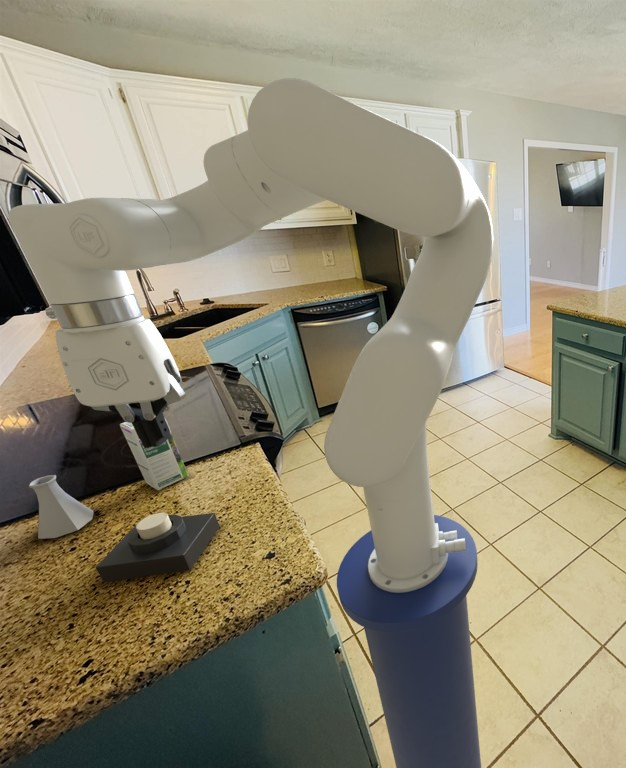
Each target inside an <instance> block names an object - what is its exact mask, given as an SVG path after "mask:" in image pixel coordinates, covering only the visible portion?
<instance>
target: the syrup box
mask: <svg viewBox="0 0 626 768" xmlns="http://www.w3.org/2000/svg"><path fill="white" fill-rule="evenodd" d="M165 420H166V422H167V425H168V427H169V429H170V426H169V424H168V421H167V419H166V418H165ZM119 427H120V429H121V432H122V433H123V436H124V437H125V440H126V442H127V444H128V446H129V448H130V451H131V453H132V455H133V457H134V460H135V462H136V464H137V467H138V468H139V470H140V472H141V475H142V477H143V479H144V482H145V483H146V484H147V485H149V486H150V487H151V488H153V489H155V490H156V491H158V492H159V491H162V489H164V488H166V487H169V486H171V485H173V484H175V483H177V482H180V481H182V480H185V479H187V478H188V477H189V472H188V471H187V468H186V465H185V464H184V463H185V462H184V461H183V458H182V456H181V453H180V451H179V448H178V446H177V443H176V441H175V439H174V435H173V434H172V431H171V429H170V438H168V439H167V440H166V441H165V442H164V443H162V444H161V445H160V446H158V447H153V446H151V447H150V448H144V446H143V444H142V442H141V440H140V439H139V437H138V435H137V433H136V431H135V429H134V427H133V424H132V423H128V422H126V421H124V422H122V423H120V424H119Z"/></svg>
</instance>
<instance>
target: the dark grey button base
mask: <svg viewBox="0 0 626 768" xmlns="http://www.w3.org/2000/svg"><path fill="white" fill-rule="evenodd" d="M167 515H168V517H169V519H170V521H171V523H172V527H171V528H170V530H168V531H167V532H165V533H163V534H162V535H160V536H157V537H154V538H152V539H146V540H144V539H141V537H140V535H139V533H138V531H137V529H136V525H137V524H138V523H139V522H140V521H138V522H137V523H136V524H135V525H134V526H133V527H132V528H131V529H130V531H128V533H127V534H126V535H125V536H124V537H123V538H121V540H120V541H119V542H118V543H117V544H116V545H115V546H114V547H113V548H112V549H111V550H110V551H109V552H108V554H106V555H105V556H104V558H103V559H102V560H101V561H100V562H99V563H98V564H97V565H96V566H95V570H96V571H97V573H98V575H99V577H100V579H101V581H102V582H103V583H111V582H118V581H125V580H132V579H139V578H146V577H152V576H153V577H154V576H161V575H166V574H167V575H168V574H174V573H175V574H176V573H180V572H188V571H191V570H192V568H193V566H194V565H195V564H196V563H197V561H198V560H199V558H200V557H201V555H202V554H203V552H204V551H205V549H206V547H207V546H208V545H209V543H211V540H212V539H213V537H214V536H215V534H216V533H217V531H218V530H219V529H220V524H219V521H218V518H217V516H216V513H215V512H209V513H201V514H193V515H184V516H181V515H178V514H175V513H173V514H167Z"/></svg>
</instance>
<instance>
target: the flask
mask: <svg viewBox="0 0 626 768" xmlns="http://www.w3.org/2000/svg"><path fill="white" fill-rule="evenodd" d="M28 488H30V489H32V490H33V491H34V493H35V494H36V498H37V501H38V529H37V539H38V540H42V539H56V538H60V537H62V536H64V535H68V534H71V533H74V532H77V531H79V530H80V529H82V528H83V527H85V525H87V524H88V523H90V522H91V521H92V520H93V519H94V518H93V517H94V510H92V509H91V508H90V507H88V506H86V505H85V504H83V503H82V502H80V501H78V500H77V499H76V498H74V497H72V496H71V495H70V494H68V493H67V492H65V490H63V488H61V486H59V484H58V482H57V475H56V474H51V475H49V474H48V475H45V476H41V477H38V478H36V479H34V480H32V481H31V482H29V484H28Z"/></svg>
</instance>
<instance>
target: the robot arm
mask: <svg viewBox="0 0 626 768" xmlns="http://www.w3.org/2000/svg"><path fill="white" fill-rule="evenodd" d="M246 121H247V129H246V130H245V131H243V132H240V133H238V134H235V135H232V136H230V137H228V138H226V139H224V140H222V141H219V142H217V143H215V144H212V145H210V146H209V147H208V148H207V149H206V151H205V153H204V155H203V168H204V172H205V174H206V177H207V180H206V181H204V182H203V183H201V184H199V185H197V186H195V187H193V188H190V189H189V190H187V191H184V192H182V193H178V194H177V195H174V196H172V197H168V198H165V199H164V198H163V199H154V198H130V197H129V198H127V197H125V198H124V197H88V198H82V199H77V200H72V201H69V202H66V203H65V202H64V203H61V202H60V203H30V204H29V203H28V204H21V205H17V206H14V207H12V208H11V209H10V210H9V212H8V221H9V224H10V226H11V228H12V230H13V232H14V234H15V237H16V238H17V241H18V242H19V245H20V246H21V248H22V250H23V253H24V255H25V257H26V258H27V261H28V263H29V265H30V267H31V269H32V271H33V274H34V275H35V277H36V279H37V281H38V283H39V286H40V287H41V289H42V291H43V294H44V295H45V297H46V299H47V302H48V303H49V306H50V307H47V308H45V315H46V317H48V318H49V319H52V320H53V319H55V320H57V322H58V325H59V326H60V328H61V329H57V330H55V332H54V333H55V340H56V346H57V351H58V355H59V358H60V359H59V360H60V361H61V364H62V365H61V366H62V367H63V370H64V373H65V375H66V378H67V380H68V382H69V385H70V387H71V389H72V392H73V394H74V396H75V398H76V399H77V401H78V402H79V403H80V404H81V405H83V406H86V407H90V408H91V409H93V410H94V411H102V412H111V413H114V414H116V415H118V416H120V417H121V418H122V419H123V421H124V422H128V423H132V424H133V427H134V429H135V431H136V433H137V435H138V437H139V439H140V440H141V442H142V444H143V446H144V448H150V447H151V446H153V447H158V446H160V445H161V444H162V443H164V442H165V441H166V440H167V439H168V438H170V431H171V429H169V428H170V426H169V424H168V425H167V423H168V421H167V419H166V418H165V415H164V412H166V410H167V408H168V406H169V405H172V404H174V403H177V402H180V401H181V400H183V399H184V398H186V396H187V394H186V392H185V391H184V389H183V387H181V386H182V384H183V380H182V377H181V373H180V370H179V367H178V365H177V363H176V361H175V358H174V357H173V354H172V352H171V350H170V349H169V347H168V345H167V343H166V341H165V339H164V337H162V334H161V333H160V332H159V330H158V329H157V327H156V326H155V324H154V323H153V321H152V320H151V319H150V318H145V316H144V314H143V311H142V309H141V306H140V303H139V301H138V299H137V296H136V294H135V291H134V290H133V289H134V288H133V286H132V284H131V282H130V280H129V276H128V275H127V272H128V271H135V270H140V269H148V268H154V267H158V266H159V267H160V266H167V265H172V264H182V263H187V262H191V261H195V260H197V259H201V258H204V257H206V256H208V255H211V254H213V253H216V252H218V251H221V250H224V249H226V248H229V247H230V246H232V245H236V244H237V243H239V242H242V241H243V240H245V239H247V238H249V237H251V236H252V235H253V234H255V233H257V232H260V231H261V230H262V229H264V227H265V226H268V225H270V224H271V223H275V222H276V221H279V220H281V219H284V218H286V217H289V216H291V215H293V214H295V213H299V212H300V211H303V210H305V209H308V208H310V207H312V206H315V205H318V204H320V203H323V202H325V201H329V202H330V203H331V202H332V203H334V204H336V205H338V206H341V207H344V208H345V209H348V210H351V211H353V212H355V213H357V214H359V215H362V216H364V217H366V218H369V219H371V220H374V221H376V222H378V223H381V224H383V225H384V226H388V227H390V228H392V229H395V230H397V231H399V232H402V233H405V234H409V235H413V236H415V237H423V243H422V247H421V250H420V253H419V255H418V258H417V260H416V262H415V264H414V266H413V267H412V269H411V273H410V274H409V277H408V280H407V282H406V286H405V288H404V290H403V293H402V295H401V296H400V300H399V302H398V303H397V306H396V307H395V309H394V312H393V314H392V315H391V317H390V319H389V320H388V321H387V322H386V323H385V324H384V325H383V326H382V327H381V328H380V329H379V330H378V331H377V332H376V333H374V335H373V336H371V338H370V339H369V340H368V341H367V342H366V343H365V344H364V346H363V348H362V349H361V351H360V353H359V354H358V356H357V358H356V360H355V362H354V364H353V366H352V367H351V368H352V369H351V371H350V373H349V376H348V377H347V381H346V382H345V386H344V387H343V389H342V393H341V395H340V398H339V399H338V403H337V405H336V407H335V410H334V413H333V415H332V417H331V420H330V423H329V425H328V427H327V430H326V434H325V436H324V437H325V438H324V442H323V443H324V445H323V446H324V447H323V448H324V449H323V451H324V456H325V461H326V463H327V466H328V467H329V469H330V470H331V471H332V473H333V474H334V476H336V477H337V478H338V479H339V480H340V481H342V482H344V483H345V484H347V485H350V486H353V487H358V488H363V494H364V500H365V505H366V510H367V514H368V515H367V516H368V520H369V526H370V531H372V536H373V541H374V546H375V549H374V550H373V552H372V554H371V555H370V558H369V561H368V570H369V575H370V578H371V580H372V581H373V583H374V584H375V585H376V586H377V587H379V588H381V589H382V590H385V591H388V592H394V593H403V592H410V591H414V590H417V589H419V588H422V587H424V586H426V585H427V584H429V583H431V582H432V581H433V580H434V579H436V578H437V577H438V576H439V575H440V573H441V572H442V571H443V569H444V567H445V565H446V563H447V559H448V553H450V552H462V551H466V546H465V538H463V539H457V530H456V531H449V532H445V533H443V532H442V531H439V528H438V523H435V521H434V515H435V513H434V505H433V497H432V495H433V494H432V488H431V480H430V478H431V477H430V476H431V475H430V468H429V458H428V444H427V443H428V442H427V439H428V438H427V421H428V419H429V417H430V415H431V413H432V411H433V410H434V407H435V405H436V403H437V401H438V399H439V397H440V395H441V392H442V390H443V388H444V385H445V383H446V380H447V377H448V373H449V371H450V369H451V364H452V361H453V358H454V357H453V356H454V353H455V350H456V347H457V345H458V342H459V340H460V338H461V336H462V334H463V332H464V330H465V328H466V326H467V324H468V321H469V319H470V317H471V315H472V312H473V310H474V308H475V306H476V304H477V301H478V299H479V297H480V295H481V293H482V291H483V288H484V286H485V283H486V281H487V278H488V275H489V272H490V268H491V264H492V259H493V253H494V229H493V228H494V227H493V222H492V216H491V213H490V210H489V208H488V204H487V202H486V200H485V198H484V196H483V194H482V193H481V190H480V188H479V187H478V185H477V183H476V182H475V180H474V179H473V177H472V176H471V174H470V173H469V172H468V170H467V169H466V168H465V166H464V165H463V164H462V162H461V161H459V160H458V158H457V157H456V156H455V155H454V154H453V153H452V152H451V151H449V150H448V149H447V148H446V147H445V146H443V145H442V144H440V143H438V142H437V141H435V140H434V139H431V138H429V137H428V136H426V135H424V134H421V133H419V132H417V131H415V130H413V129H410V128H408V127H406V126H403V125H402V124H399V123H398V122H396V121H393V120H391V119H389V118H386V117H384V116H382V115H380V114H378V113H376V112H373V111H371V110H369V109H367V108H365V107H362V106H360V105H358V104H356V103H354V102H353V101H350V100H348V99H346V98H344V97H342V96H339V95H338V94H336V93H334V92H332V91H331V90H328V89H326V88H324V87H323V86H321V85H319V84H316V83H314V82H312V81H309V80H306V79H301V78H295V77H293V78H292V77H289V78H285V77H284V78H281V79H277V80H274V81H272V82H270V83H267V84H265V85H264V86H263V87H261V89H259V90H258V91H257V93H256V94H255V96H254V97H253V98H252V100H251V103H250V105H249V107H248V112H247V119H246ZM126 271H127V272H126ZM165 419H166V420H165ZM166 421H167V422H166ZM168 426H169V427H168ZM453 539H457V540H454V541H448V542H445V540H453Z"/></svg>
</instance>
